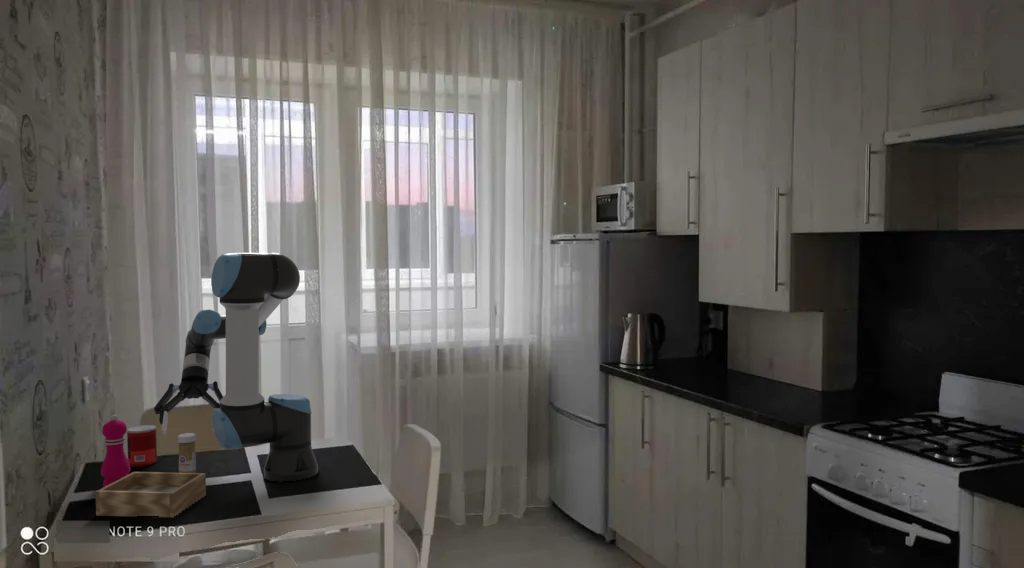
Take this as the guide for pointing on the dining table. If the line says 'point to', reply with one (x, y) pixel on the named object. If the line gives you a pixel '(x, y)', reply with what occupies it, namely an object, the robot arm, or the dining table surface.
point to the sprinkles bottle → (187, 453)
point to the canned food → (142, 445)
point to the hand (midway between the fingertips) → (189, 431)
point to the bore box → (151, 494)
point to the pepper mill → (114, 451)
